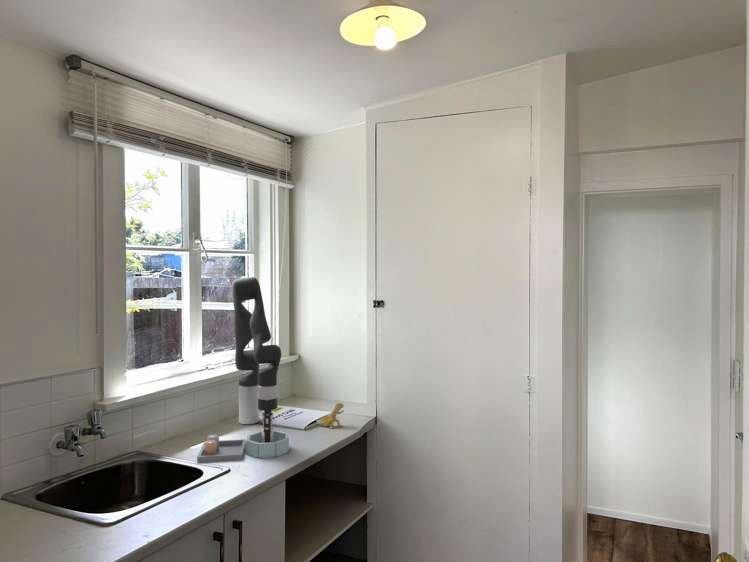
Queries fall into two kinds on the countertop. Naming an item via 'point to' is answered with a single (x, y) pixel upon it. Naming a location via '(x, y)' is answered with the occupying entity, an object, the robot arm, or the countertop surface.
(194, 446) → the countertop surface
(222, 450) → the tray
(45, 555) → the countertop surface
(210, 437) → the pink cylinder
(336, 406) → the toy
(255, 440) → the bowl
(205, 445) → the pebble rust
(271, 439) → the pebble sand
